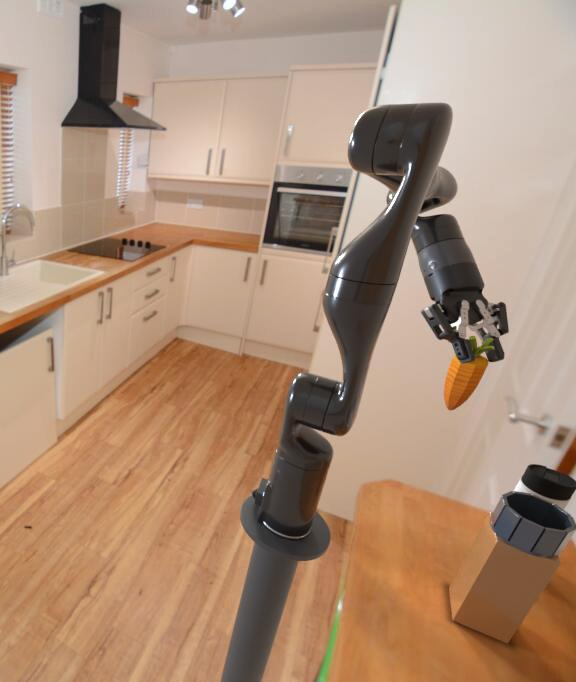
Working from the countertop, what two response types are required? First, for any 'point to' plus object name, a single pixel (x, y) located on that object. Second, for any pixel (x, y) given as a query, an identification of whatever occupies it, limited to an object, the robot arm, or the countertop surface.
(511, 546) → the pad socket
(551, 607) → the countertop surface
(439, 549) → the countertop surface
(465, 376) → the carrot
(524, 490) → the travel mug
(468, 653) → the countertop surface
